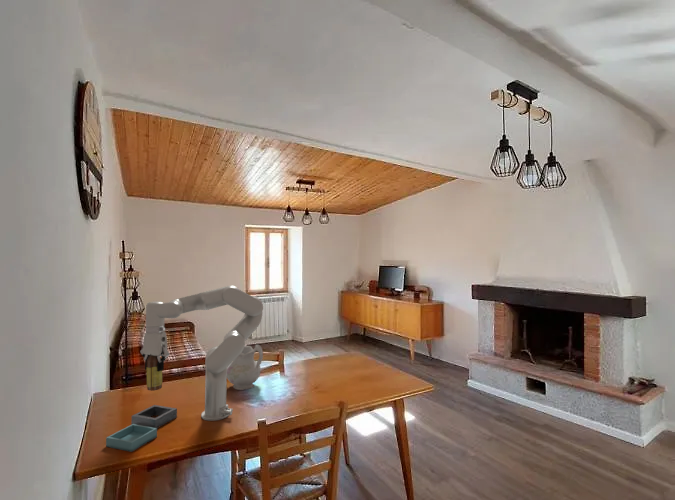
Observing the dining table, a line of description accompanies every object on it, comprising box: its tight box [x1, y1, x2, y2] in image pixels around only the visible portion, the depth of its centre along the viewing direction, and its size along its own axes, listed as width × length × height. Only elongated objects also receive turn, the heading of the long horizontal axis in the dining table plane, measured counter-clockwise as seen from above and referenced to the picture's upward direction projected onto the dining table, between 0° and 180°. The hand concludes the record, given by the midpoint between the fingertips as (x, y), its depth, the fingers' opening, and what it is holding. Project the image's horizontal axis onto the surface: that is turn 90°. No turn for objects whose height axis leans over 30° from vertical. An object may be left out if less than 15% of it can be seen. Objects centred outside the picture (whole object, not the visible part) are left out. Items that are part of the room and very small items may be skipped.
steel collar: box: [130, 404, 178, 429], centre depth 169 cm, size 13×13×4 cm
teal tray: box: [105, 424, 158, 453], centre depth 150 cm, size 13×13×4 cm
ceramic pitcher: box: [227, 344, 264, 391], centre depth 216 cm, size 22×20×25 cm
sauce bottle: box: [146, 354, 163, 392], centre depth 168 cm, size 7×6×20 cm
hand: (154, 369), depth 168 cm, fingers closed on sauce bottle, 6 cm apart
